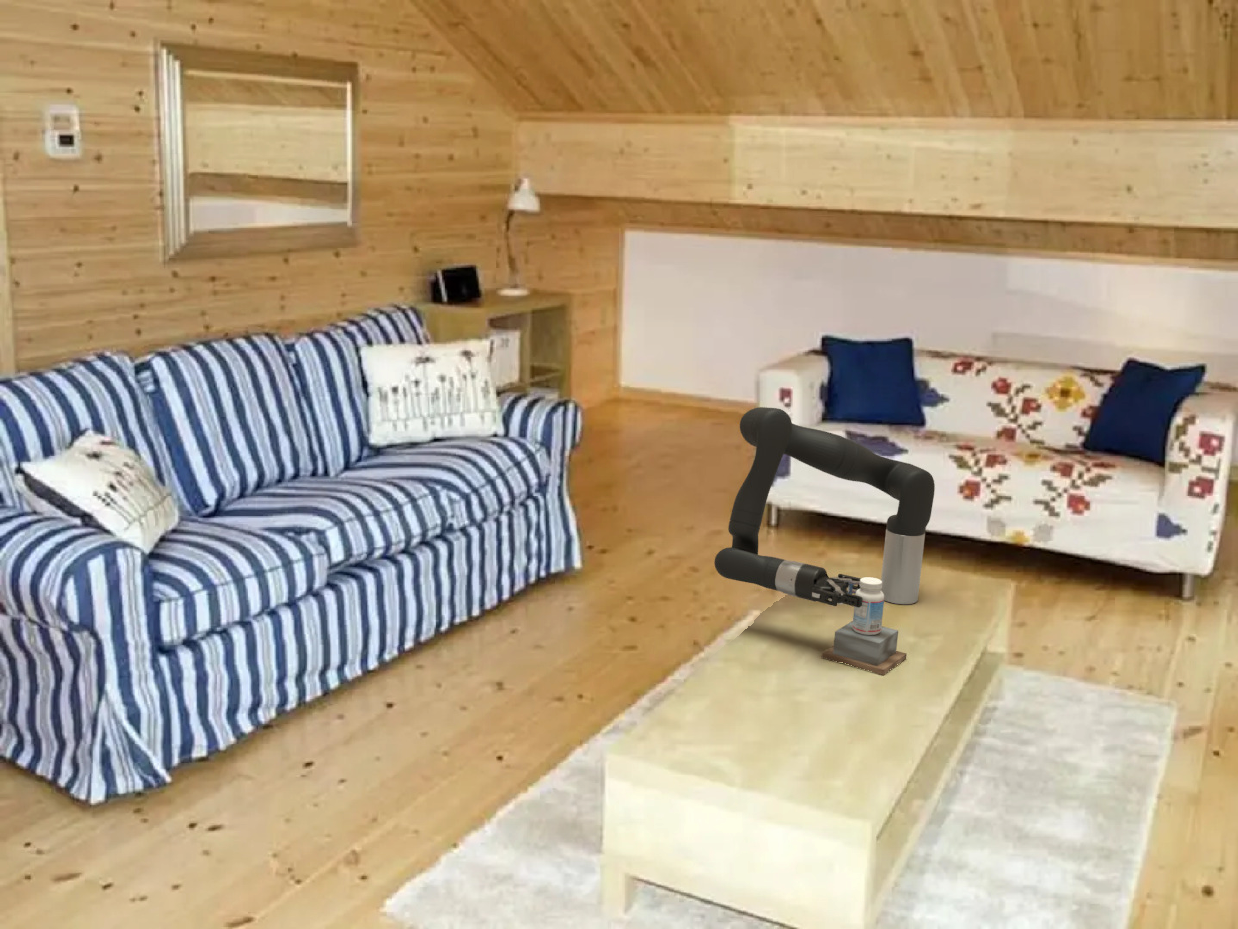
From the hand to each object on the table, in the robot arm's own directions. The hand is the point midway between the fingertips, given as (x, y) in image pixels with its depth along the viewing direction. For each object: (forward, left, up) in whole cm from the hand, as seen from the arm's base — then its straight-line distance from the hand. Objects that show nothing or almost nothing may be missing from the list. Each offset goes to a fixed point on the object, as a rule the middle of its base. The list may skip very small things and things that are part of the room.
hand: (870, 597), depth 267 cm
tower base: (0, 0, -14) cm, 14 cm away
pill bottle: (0, 0, -8) cm, 8 cm away
